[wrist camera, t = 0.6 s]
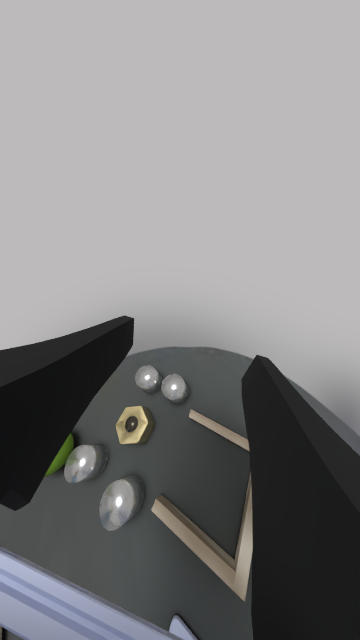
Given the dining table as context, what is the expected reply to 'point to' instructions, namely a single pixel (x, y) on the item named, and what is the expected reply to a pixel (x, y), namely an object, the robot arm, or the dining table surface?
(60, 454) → the snail figurine
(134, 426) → the brass nut
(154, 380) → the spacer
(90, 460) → the cylinder
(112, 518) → the cylinder
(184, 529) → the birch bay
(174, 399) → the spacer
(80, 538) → the dining table surface
